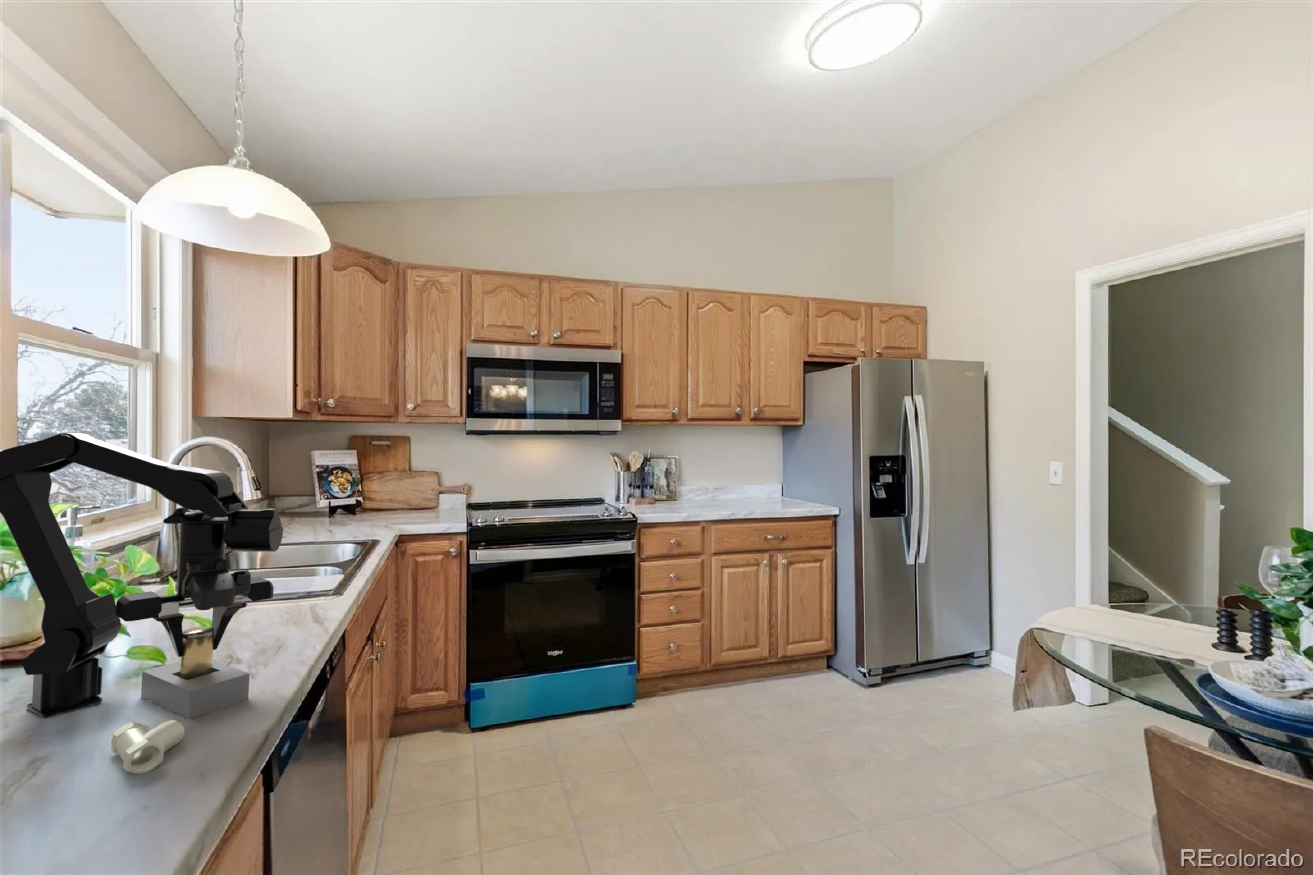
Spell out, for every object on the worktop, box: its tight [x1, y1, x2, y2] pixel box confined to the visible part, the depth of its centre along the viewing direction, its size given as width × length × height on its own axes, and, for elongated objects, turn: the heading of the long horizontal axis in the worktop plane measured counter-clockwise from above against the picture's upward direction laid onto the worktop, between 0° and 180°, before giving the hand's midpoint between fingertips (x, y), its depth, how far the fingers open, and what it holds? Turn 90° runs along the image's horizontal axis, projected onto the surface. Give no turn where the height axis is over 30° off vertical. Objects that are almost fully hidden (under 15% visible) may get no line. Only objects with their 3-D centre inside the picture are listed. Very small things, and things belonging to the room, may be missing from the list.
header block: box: [140, 659, 250, 720], centre depth 92 cm, size 8×14×4 cm, turn 63°
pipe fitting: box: [110, 719, 185, 775], centre depth 75 cm, size 8×4×7 cm
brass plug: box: [179, 626, 214, 680], centre depth 92 cm, size 4×4×8 cm
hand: (197, 652), depth 92 cm, fingers closed on brass plug, 4 cm apart
